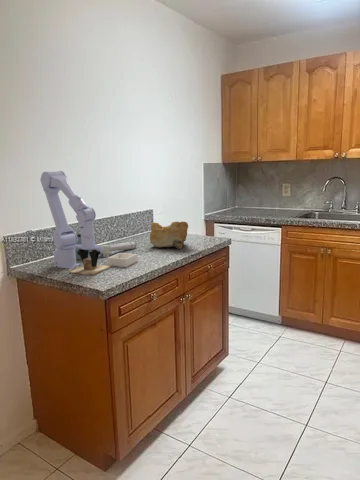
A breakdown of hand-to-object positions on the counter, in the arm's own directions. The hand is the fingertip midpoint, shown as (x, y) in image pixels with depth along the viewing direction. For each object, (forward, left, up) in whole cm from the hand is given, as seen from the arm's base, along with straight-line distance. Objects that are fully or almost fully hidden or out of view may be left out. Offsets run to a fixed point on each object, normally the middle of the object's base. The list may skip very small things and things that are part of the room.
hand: (90, 266), depth 162 cm
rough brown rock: (+15, +55, -2) cm, 57 cm away
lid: (0, 0, -2) cm, 2 cm away
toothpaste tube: (-7, +33, -3) cm, 34 cm away
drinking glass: (-18, +18, -2) cm, 26 cm away
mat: (0, 0, -2) cm, 2 cm away
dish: (+8, +14, -2) cm, 16 cm away
